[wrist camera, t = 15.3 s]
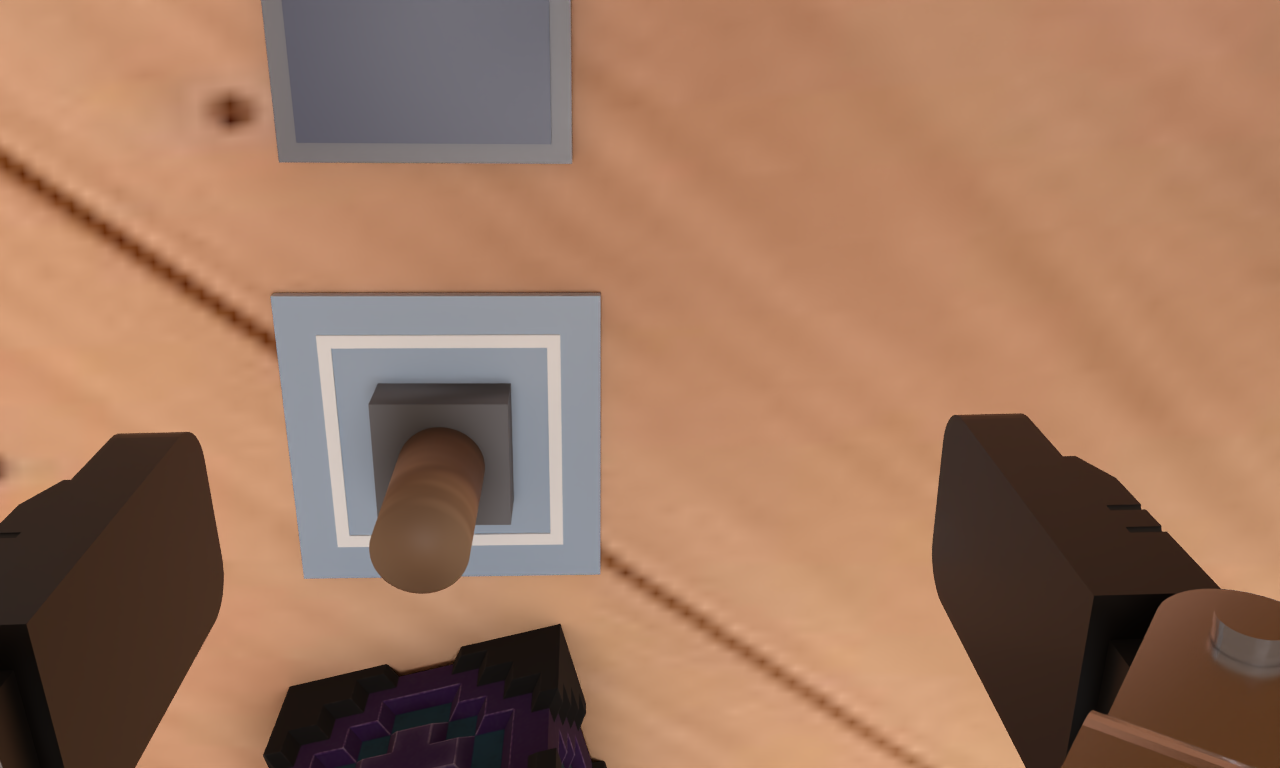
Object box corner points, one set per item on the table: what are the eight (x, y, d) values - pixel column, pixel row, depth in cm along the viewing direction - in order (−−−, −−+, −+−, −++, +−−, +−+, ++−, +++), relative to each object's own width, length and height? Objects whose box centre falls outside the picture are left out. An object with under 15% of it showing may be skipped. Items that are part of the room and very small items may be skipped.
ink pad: (570, -87, 36) (569, -88, 35) (572, 158, 39) (572, 164, 38) (259, -93, 36) (249, -93, 34) (286, 156, 39) (277, 163, 37)
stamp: (511, 383, 42) (495, 481, 34) (514, 499, 44) (500, 615, 36) (378, 383, 42) (334, 482, 34) (386, 500, 44) (346, 617, 36)
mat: (600, 292, 41) (600, 296, 41) (599, 569, 46) (600, 575, 45) (273, 293, 40) (269, 297, 40) (306, 573, 45) (303, 579, 45)
